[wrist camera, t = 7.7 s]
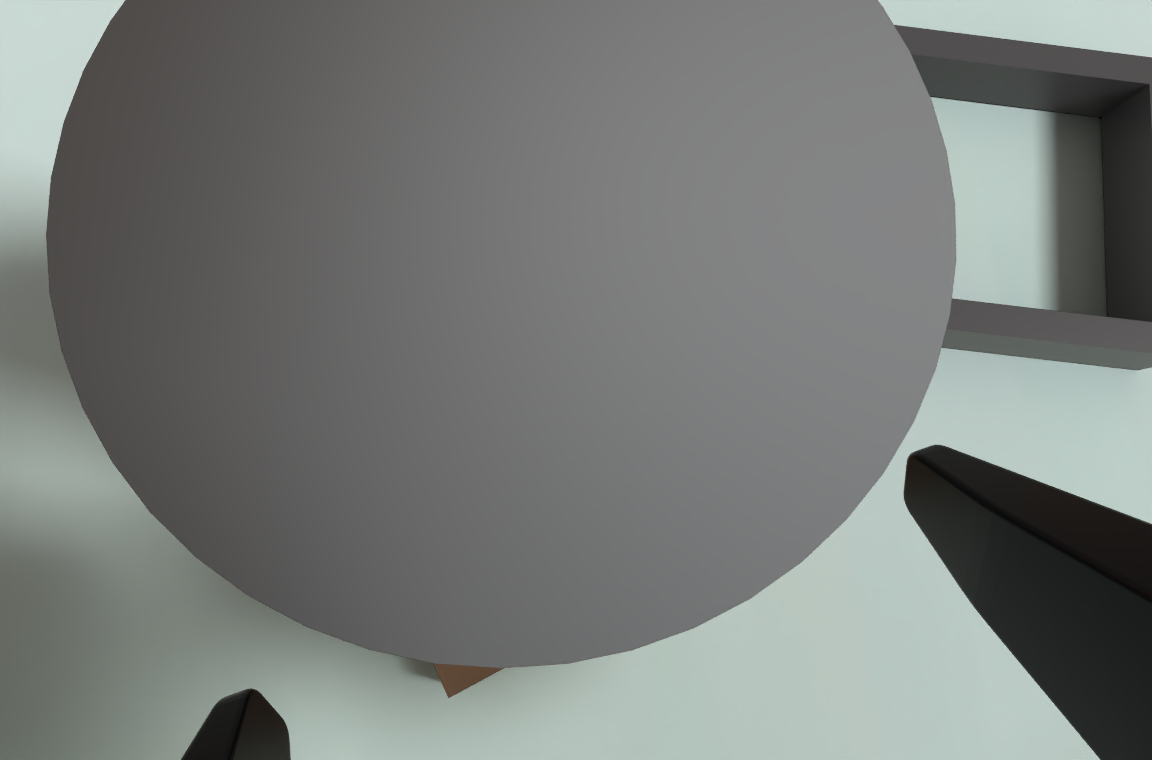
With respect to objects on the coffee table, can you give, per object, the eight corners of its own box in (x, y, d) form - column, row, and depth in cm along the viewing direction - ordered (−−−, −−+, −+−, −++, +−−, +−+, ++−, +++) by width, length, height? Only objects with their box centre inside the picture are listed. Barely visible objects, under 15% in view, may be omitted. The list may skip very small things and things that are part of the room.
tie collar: (1138, 370, 18) (1193, 358, 17) (676, 316, 18) (688, 298, 17) (1127, 95, 20) (1177, 61, 18) (699, 42, 20) (712, 2, 18)
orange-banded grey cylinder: (681, 415, 17) (1127, 133, 4) (556, 579, 16) (596, 913, 3) (524, 294, 17) (456, -331, 4) (395, 448, 16) (-176, 254, 3)
